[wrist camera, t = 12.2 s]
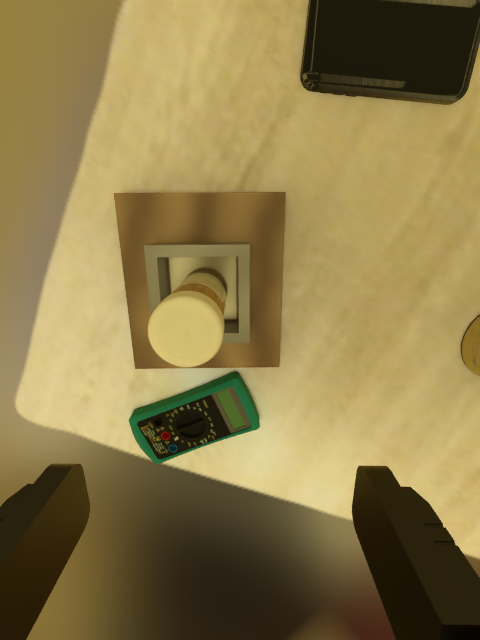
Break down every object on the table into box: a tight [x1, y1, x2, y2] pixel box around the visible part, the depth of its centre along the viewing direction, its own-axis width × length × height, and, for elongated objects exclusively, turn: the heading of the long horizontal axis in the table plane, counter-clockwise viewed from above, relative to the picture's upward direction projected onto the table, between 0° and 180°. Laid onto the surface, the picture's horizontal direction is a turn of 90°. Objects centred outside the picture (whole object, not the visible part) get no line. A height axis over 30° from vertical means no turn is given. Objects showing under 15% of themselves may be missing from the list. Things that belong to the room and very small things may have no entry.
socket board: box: [114, 192, 286, 369], centre depth 32 cm, size 16×18×2 cm
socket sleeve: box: [144, 242, 250, 343], centre depth 29 cm, size 9×9×4 cm
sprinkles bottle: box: [148, 267, 227, 367], centre depth 24 cm, size 5×5×13 cm
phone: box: [301, 0, 480, 105], centre depth 26 cm, size 8×1×15 cm
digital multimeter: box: [129, 372, 260, 464], centre depth 37 cm, size 7×15×3 cm, turn 113°
